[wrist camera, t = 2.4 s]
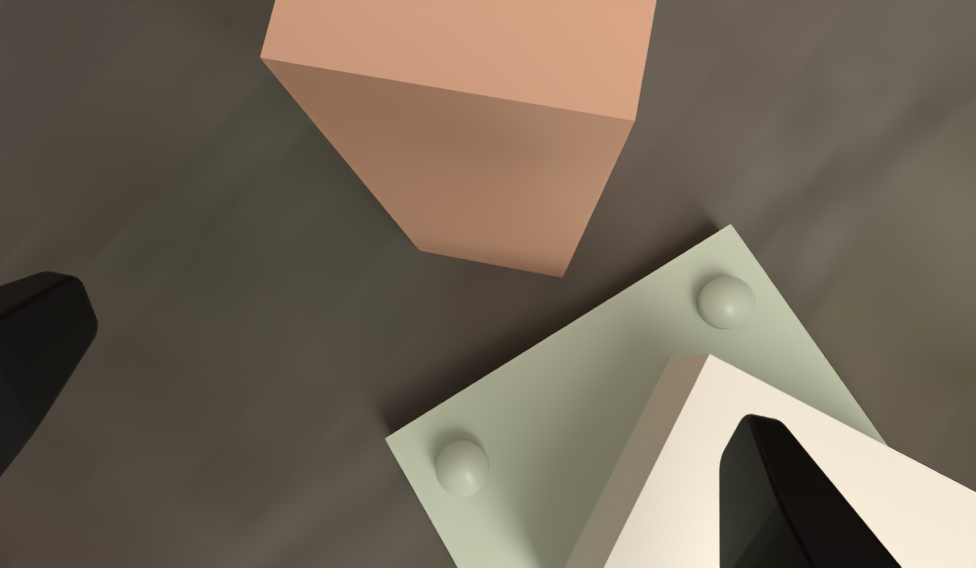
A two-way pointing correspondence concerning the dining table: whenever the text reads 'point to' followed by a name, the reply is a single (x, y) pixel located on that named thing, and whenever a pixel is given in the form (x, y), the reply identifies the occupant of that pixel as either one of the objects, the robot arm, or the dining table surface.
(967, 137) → the dining table surface
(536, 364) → the tower base
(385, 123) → the column brick
